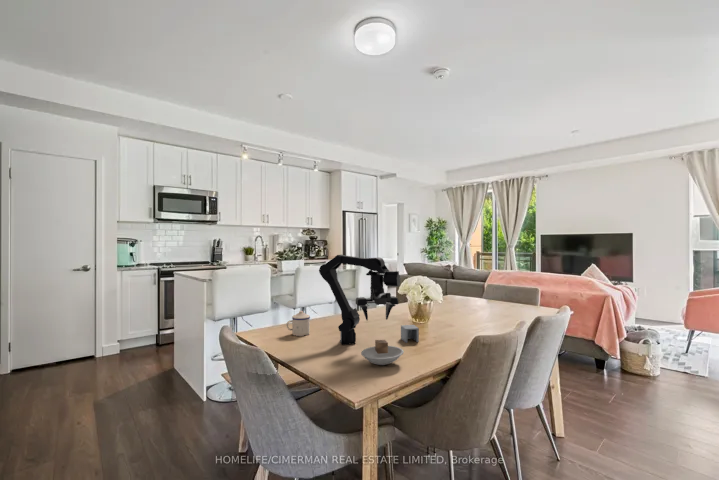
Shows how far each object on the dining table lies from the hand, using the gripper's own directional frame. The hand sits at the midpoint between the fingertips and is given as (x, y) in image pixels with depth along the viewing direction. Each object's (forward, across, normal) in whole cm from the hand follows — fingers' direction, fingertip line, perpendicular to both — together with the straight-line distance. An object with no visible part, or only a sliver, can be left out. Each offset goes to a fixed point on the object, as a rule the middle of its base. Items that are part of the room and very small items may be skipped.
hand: (376, 319), depth 157 cm
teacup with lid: (+12, -34, +27) cm, 45 cm away
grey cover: (+12, +18, +6) cm, 22 cm away
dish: (+12, -4, -22) cm, 25 cm away
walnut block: (+7, -4, -22) cm, 23 cm away
